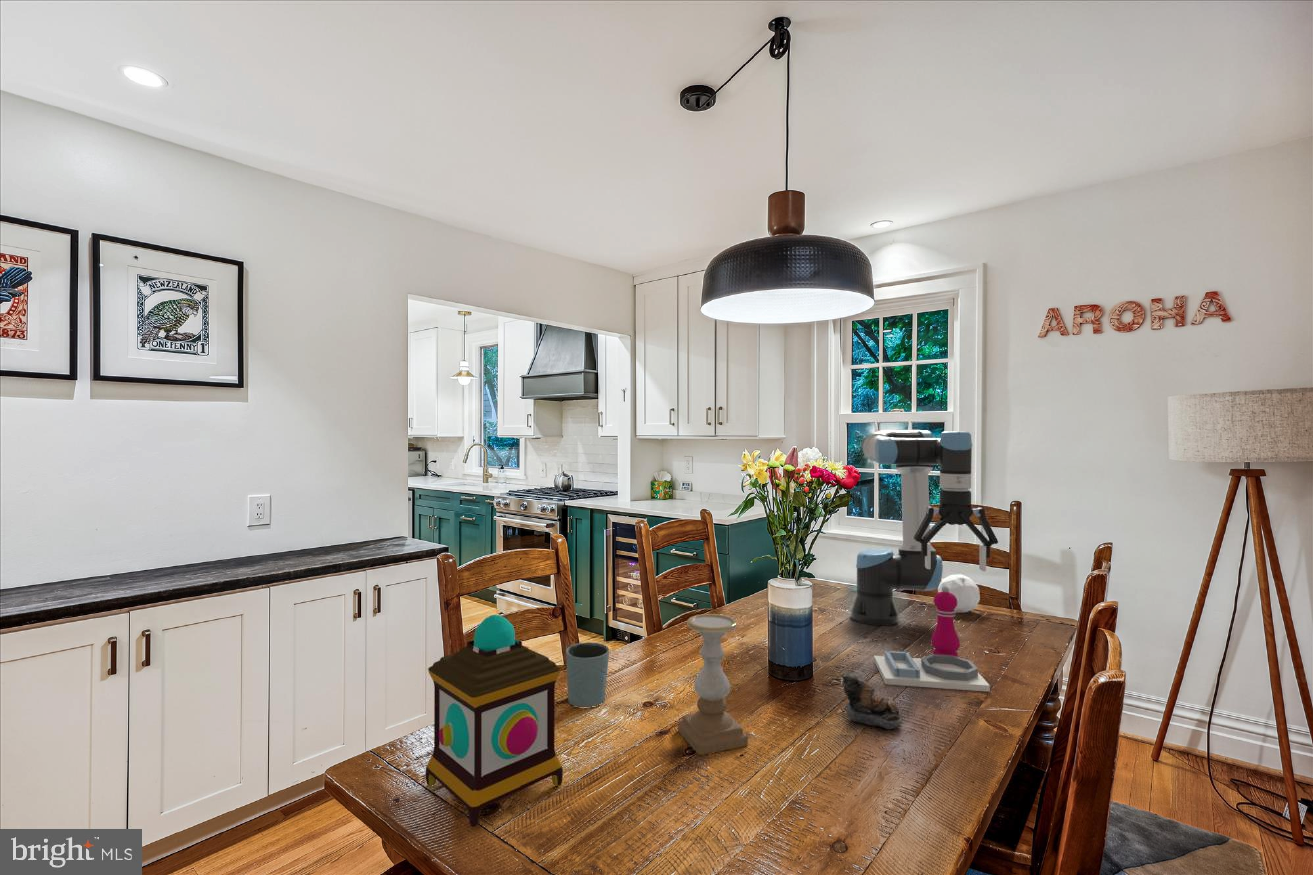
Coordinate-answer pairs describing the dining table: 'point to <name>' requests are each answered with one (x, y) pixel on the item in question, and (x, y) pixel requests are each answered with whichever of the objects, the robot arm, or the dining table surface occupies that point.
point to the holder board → (928, 677)
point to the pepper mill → (945, 624)
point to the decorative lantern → (493, 718)
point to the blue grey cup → (587, 673)
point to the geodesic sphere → (962, 592)
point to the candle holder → (712, 692)
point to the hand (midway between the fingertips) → (954, 569)
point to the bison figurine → (869, 704)
